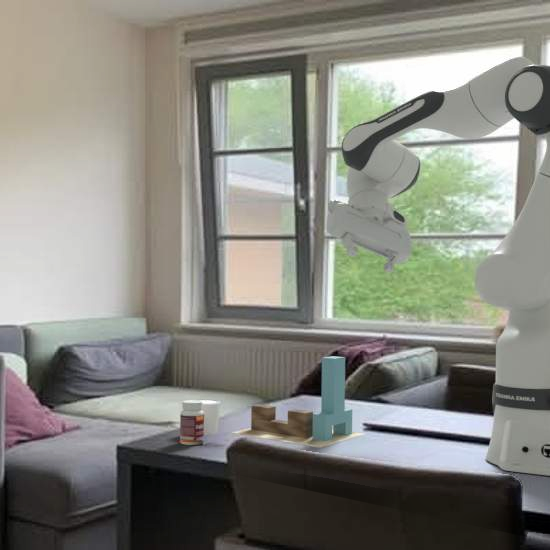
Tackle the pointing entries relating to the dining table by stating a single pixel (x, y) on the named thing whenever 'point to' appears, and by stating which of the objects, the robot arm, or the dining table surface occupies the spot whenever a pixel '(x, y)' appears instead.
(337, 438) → the jig board
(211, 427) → the white cup
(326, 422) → the angled bracket
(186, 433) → the pill bottle
